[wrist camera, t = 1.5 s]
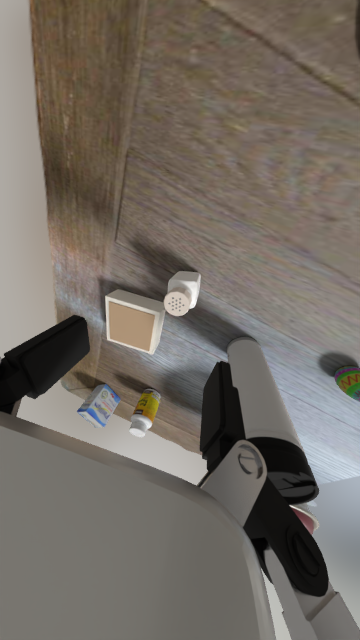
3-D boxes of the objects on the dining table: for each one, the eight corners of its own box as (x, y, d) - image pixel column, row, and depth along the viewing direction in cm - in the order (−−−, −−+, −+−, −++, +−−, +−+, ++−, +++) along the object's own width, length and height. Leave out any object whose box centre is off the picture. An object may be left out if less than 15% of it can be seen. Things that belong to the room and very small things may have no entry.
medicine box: (121, 398, 49) (104, 427, 41) (112, 400, 50) (94, 428, 43) (106, 383, 46) (85, 411, 39) (97, 385, 48) (75, 412, 40)
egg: (367, 362, 26) (405, 393, 21) (359, 381, 28) (391, 413, 23) (332, 362, 27) (360, 392, 22) (327, 381, 29) (351, 411, 24)
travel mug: (219, 350, 31) (225, 488, 14) (243, 330, 28) (290, 480, 11) (241, 365, 32) (272, 514, 15) (267, 348, 29) (346, 515, 11)
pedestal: (118, 288, 29) (104, 296, 25) (166, 303, 28) (159, 313, 25) (118, 329, 34) (106, 340, 30) (159, 342, 33) (152, 355, 30)
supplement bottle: (152, 385, 42) (136, 424, 33) (165, 397, 43) (152, 437, 35) (139, 390, 44) (121, 428, 35) (151, 401, 46) (137, 440, 37)
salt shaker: (201, 271, 24) (194, 289, 16) (198, 295, 26) (191, 321, 18) (177, 269, 25) (159, 286, 17) (176, 292, 27) (160, 317, 19)
